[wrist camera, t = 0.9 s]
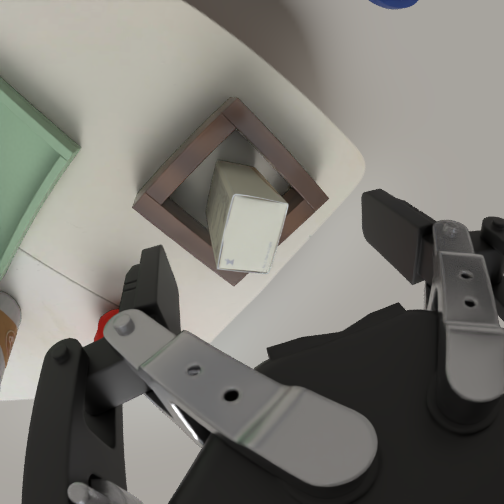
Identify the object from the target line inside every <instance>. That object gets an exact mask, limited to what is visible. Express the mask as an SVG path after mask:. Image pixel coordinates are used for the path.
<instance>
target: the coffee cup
mask: <svg viewBox="0 0 504 504" xmlns="http://www.w3.org/2000/svg"><path fill="white" fill-rule="evenodd" d="M20 322H21V311H20V308H19V306H18V304H17V303H16V301H15V300H14V299H13V298H12V297H11V296H9V295H8V294H6V293H4V292H1V291H0V384H1V381H2V377H3V374H4V370H5V368H6V366H7V362H8V359H9V356H10V353H11V350H12V347H13V344H14V341H15V338H16V335H17V331H18V328H19V325H20Z"/></svg>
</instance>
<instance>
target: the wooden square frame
mask: <svg viewBox="0 0 504 504" xmlns="http://www.w3.org/2000/svg"><path fill="white" fill-rule="evenodd" d="M235 129H236V130H237V131H238V132H239V133H240V134H241V135H242V136H243V137H244V138H245V139H246V140H247V141H248V142H249V143H250V144H251V145H252V146H253V147H254V148H255V149H256V150H257V151H258V152H259V153H260V154H261V155H262V156H263V157H264V158H265V159H266V160H267V161H268V162H269V163H270V164H271V165H272V167H273V168H274V169H275V170H276V171H277V172H278V173H279V174H280V175H281V176H282V177H283V178H284V179H285V180H286V181H287V183H288V184H289V185H290V186H291V187H292V188H291V189H290V190H289V191H288V192H287V193H285V194H284V195H283V196H282V198H283V199H284V200H285V201H286V202H287V203H288V210H287V214H286V218H285V221H284V225H283V229H282V233H281V236H280V239H279V243H278V246H279V245H280V244H281V243H282V242H283V241H284V240H285V239H286V238H287V237H289V236H290V235H291V234H292V233H293V232H294V231H295V230H296V229H297V228H298V227H299V226H300V225H302V224H303V223H304V222H305V221H306V220H307V219H308V218H309V217H310V216H311V215H312V214H313V213H314V212H315V211H317V210H318V209H319V208H320V207H321V206H322V205H323V204H324V203H325V202H326V201H327V200H328V199H329V198H328V197H327V195H326V194H325V193H324V192H323V191H322V189H321V188H320V187H319V186H318V185H317V184H316V182H315V181H314V180H313V179H312V178H311V176H310V175H309V174H308V173H307V172H306V171H305V170H304V168H303V167H302V166H301V165H300V164H299V163H298V162H297V160H296V159H295V158H294V157H293V156H292V155H291V154H290V153H289V151H288V150H287V149H286V148H285V147H284V146H283V145H282V144H281V143H280V142H279V140H278V139H277V138H276V137H275V136H274V135H273V134H272V133H271V132H270V131H269V130H268V129H267V127H266V126H265V125H264V124H263V123H262V122H261V121H260V120H259V119H258V118H257V117H256V116H255V115H254V114H253V113H252V112H251V111H250V110H249V109H248V108H247V107H246V106H245V105H244V104H243V103H242V102H241V100H240V99H239V98H235V97H230V98H229V99H228V100H227V101H226V102H225V103H224V104H223V105H222V106H221V107H220V108H218V109H217V111H215V112H214V113H213V114H212V115H211V116H210V117H209V118H208V119H207V120H206V121H205V122H204V123H203V124H202V125H201V126H200V127H199V128H198V129H197V130H196V131H195V132H194V133H193V134H192V135H191V136H190V137H189V138H188V139H187V140H186V141H185V142H184V143H183V144H182V145H181V146H180V147H179V148H178V149H177V150H176V151H175V153H174V154H173V155H172V156H171V157H170V158H169V159H168V160H167V161H166V162H165V163H164V164H163V165H162V166H161V168H160V169H159V170H158V171H157V172H156V173H155V174H154V175H153V176H152V178H151V179H150V180H149V181H148V182H147V183H146V184H145V185H144V187H143V188H142V189H141V190H140V191H139V192H138V194H137V196H136V198H135V201H134V204H133V206H132V208H133V209H135V210H136V211H137V212H138V213H140V214H141V215H142V216H143V217H145V218H146V219H147V220H148V221H150V222H151V223H152V224H153V225H155V226H156V227H157V228H158V229H160V230H161V231H162V232H163V233H165V234H166V235H167V236H169V237H170V238H171V239H172V240H174V241H175V242H176V243H177V244H179V245H180V246H181V247H183V248H184V249H185V250H186V251H188V252H189V253H190V254H192V255H193V256H194V257H196V258H197V259H198V260H199V261H201V262H202V263H203V264H205V265H206V266H207V267H209V268H210V269H211V270H213V271H214V272H215V273H216V274H218V275H219V276H220V277H222V278H223V279H224V280H226V281H227V282H228V283H230V284H231V285H232V286H235V285H236V284H237V283H238V282H239V281H241V280H242V279H243V278H244V277H245V276H246V274H248V272H237V271H229V270H221V269H217V267H216V262H215V257H214V252H213V247H212V242H211V237H210V233H209V231H208V230H207V229H206V228H205V227H203V226H202V225H201V224H200V223H199V222H197V221H196V220H195V219H194V218H193V217H191V216H190V215H189V214H188V213H187V212H186V211H184V210H183V209H182V208H181V207H180V206H178V205H177V204H176V203H175V202H174V201H172V200H171V199H170V198H169V196H170V195H171V194H172V193H173V192H174V191H175V189H176V188H177V187H178V186H179V185H180V184H181V183H182V182H183V181H184V180H185V179H186V178H187V177H188V176H189V175H190V174H191V173H192V172H193V171H194V170H195V169H196V167H197V166H198V165H199V164H200V163H201V162H202V161H203V160H204V159H205V158H206V157H207V156H208V155H209V154H210V153H211V152H212V151H213V150H214V149H215V148H216V147H217V146H218V145H219V144H220V143H222V142H223V141H224V140H225V139H226V138H227V137H228V136H229V135H230V134H231V133H232V132H233V131H234V130H235ZM278 246H277V247H278Z"/></svg>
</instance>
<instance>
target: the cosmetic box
mask: <svg viewBox="0 0 504 504" xmlns="http://www.w3.org/2000/svg"><path fill="white" fill-rule="evenodd" d="M287 210H288V203H287V202H286V201H285V200H284V199H283V198H282V197H281V195H280V194H279V193H278V192H277V191H276V190H275V189H274V188H273V187H272V185H271V184H270V183H269V182H268V181H267V180H266V179H265V178H264V177H263V176H262V175H261V174H260V173H259V171H258V170H257V169H256V168H255V167H251V166H247V165H242V164H237V163H232V162H226V161H220V160H218V161H217V162H216V166H215V170H214V174H213V178H212V182H211V187H210V192H209V197H208V202H207V207H206V217H207V222H208V228H209V233H210V237H211V242H212V247H213V252H214V257H215V262H216V267H217V269H221V270H229V271H237V272H248V273H260V274H268V273H269V271H270V268H271V265H272V263H273V260H274V256H275V253H276V250H277V246H278V243H279V239H280V236H281V233H282V229H283V225H284V221H285V218H286V214H287Z"/></svg>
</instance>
